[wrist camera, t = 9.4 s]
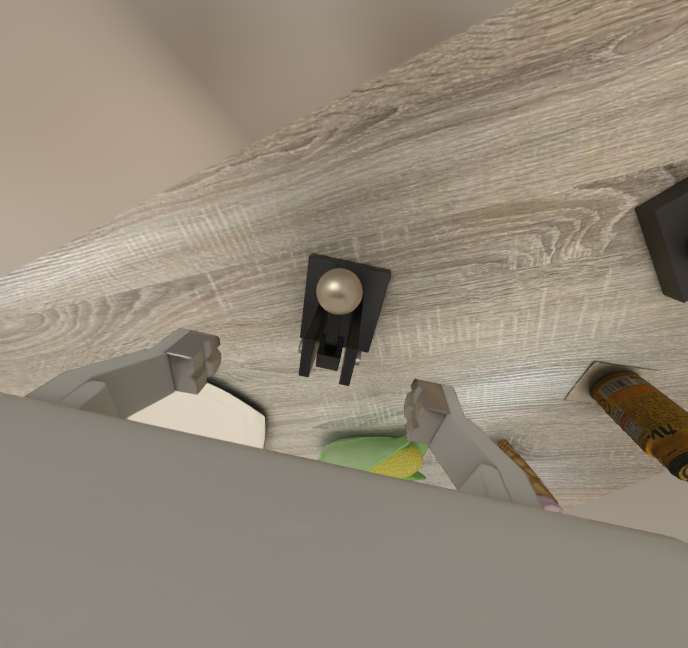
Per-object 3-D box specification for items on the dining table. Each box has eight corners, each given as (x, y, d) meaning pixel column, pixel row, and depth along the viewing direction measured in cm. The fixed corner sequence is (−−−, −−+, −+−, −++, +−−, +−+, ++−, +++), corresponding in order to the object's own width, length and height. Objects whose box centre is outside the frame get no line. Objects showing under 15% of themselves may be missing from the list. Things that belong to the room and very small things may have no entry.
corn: (307, 447, 43) (430, 439, 39) (321, 431, 51) (424, 424, 47) (313, 499, 42) (439, 496, 38) (326, 475, 50) (432, 470, 46)
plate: (285, 405, 46) (282, 413, 44) (248, 475, 59) (244, 484, 57) (135, 343, 42) (125, 350, 41) (131, 432, 55) (123, 441, 54)
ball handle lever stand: (311, 253, 32) (277, 293, 21) (390, 270, 32) (398, 319, 21) (302, 333, 38) (271, 397, 27) (368, 347, 38) (365, 417, 27)
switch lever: (323, 254, 17) (311, 288, 15) (369, 263, 17) (363, 299, 15) (317, 342, 27) (310, 369, 25) (346, 348, 27) (341, 375, 25)
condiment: (622, 407, 38) (714, 493, 28) (564, 398, 38) (633, 479, 28) (657, 369, 34) (779, 452, 24) (593, 360, 35) (685, 438, 24)
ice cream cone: (474, 442, 45) (513, 548, 32) (502, 423, 42) (558, 531, 29) (501, 457, 46) (550, 565, 33) (531, 440, 43) (597, 551, 31)
